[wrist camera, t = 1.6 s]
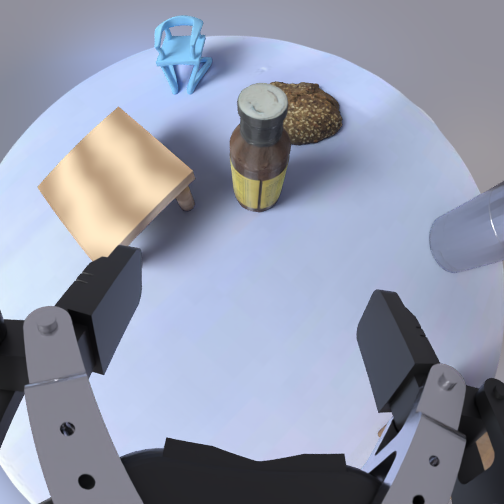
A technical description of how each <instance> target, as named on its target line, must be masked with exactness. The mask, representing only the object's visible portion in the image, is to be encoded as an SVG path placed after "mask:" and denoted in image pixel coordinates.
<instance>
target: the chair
mask: <svg viewBox="0 0 504 504" xmlns="http://www.w3.org/2000/svg"><path fill="white" fill-rule="evenodd" d="M180 25H190V26H193V28H192V34H191V36H172V35H171V32H170V30H169V28H170V27H174V26H180ZM202 26H203V21H202V20H200V19H198V18H195V17H191V16H183V15H182V16H176V17H173V18H170V19H168V20H166V21H164V22H163V23H162V24H160V25H159V26H158V27H157V28H156V30H155V48H156V50H157V51H158V52H159V56H158V58H157V61H156V64H157V66H160V67H161V68H162V70H163V72H164V74H165V76H166V78H167V80H168V82H169V84H170V87H171V89H172V93H173V94H177V93H178V84H177V79H176V75H175V71H174V68H173V65H179V64H183V65H194V67H193V71H192V74H191V77H190V80H189V83H188V86H187V92H188V94H192V93H193V91H194V89H195V88H196V86H197V84H198V83H199V81H200V80H201V78H202V77H203V76H204V74H205V73H206V71H207V70H208V68H209V67H210V66H211V64H212V58H211V57H201V56H202V51H203V46H204V43H205V39H206V38H205V35H201V34H200V31H201V28H202ZM164 30H165V32H166V36H165V39H164V42H163V45H162V48H160V43H161V36H162V32H163V31H164ZM200 62H206V63H205V64H204V65H203V67H202V68H201V69H200V70H199V71H198V69H199V65H200ZM197 72H198V73H197Z"/></svg>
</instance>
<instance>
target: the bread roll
mask: <svg viewBox="0 0 504 504" xmlns="http://www.w3.org/2000/svg"><path fill="white" fill-rule="evenodd" d="M270 84H271V85H274V86H276V87H278V88H280V89H281V90H282V91H283V92H284V93H285V94H286V96H287V99H288V112H287V116H286V118H285V119H284V120H283V127H284V129H285V130H286V131H287V133H288V135H289V137H290V141H291V144H294V145H301V144H308V143H316V142H319V141H320V140H323V139H324V138H328V137H330V136H332V135H334V134H335V133H337V132H338V130H339V129H340V128H341V126H342V117H341V115H340V112H339V104H338V102H337V101H336V100H335V98H333V97H332V96H331V95H329V94H327V93H325V92H324V91H323V90H321V89H320V88H319V85H318V84H313V83H305V82H301V83H299V84H293V83H292V84H286V83H283V82H272V83H270Z"/></svg>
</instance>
